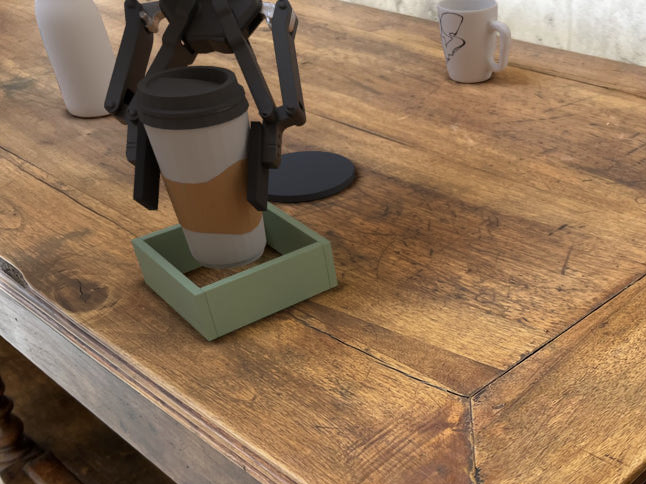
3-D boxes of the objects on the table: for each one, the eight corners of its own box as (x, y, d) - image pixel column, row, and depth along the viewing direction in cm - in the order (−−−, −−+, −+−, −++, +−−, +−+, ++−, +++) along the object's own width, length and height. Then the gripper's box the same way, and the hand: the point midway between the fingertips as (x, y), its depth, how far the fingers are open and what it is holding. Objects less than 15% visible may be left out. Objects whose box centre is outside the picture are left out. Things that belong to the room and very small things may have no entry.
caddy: (145, 283, 73) (130, 239, 70) (268, 237, 80) (258, 195, 77) (209, 341, 66) (194, 295, 63) (338, 285, 72) (330, 241, 70)
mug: (526, 77, 117) (527, 4, 110) (492, 94, 111) (490, 17, 105) (465, 63, 122) (462, -8, 116) (429, 78, 117) (424, 5, 110)
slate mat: (227, 178, 91) (226, 171, 90) (318, 148, 97) (317, 142, 96) (282, 213, 84) (280, 206, 83) (375, 179, 90) (375, 172, 89)
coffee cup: (231, 222, 75) (191, 57, 66) (298, 244, 72) (266, 74, 62) (160, 260, 69) (105, 87, 60) (229, 286, 66) (182, 107, 57)
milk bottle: (141, 104, 109) (91, -60, 97) (91, 122, 104) (32, -48, 92) (106, 95, 113) (53, -65, 100) (56, 111, 108) (-6, -55, 95)
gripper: (352, -30, 70) (342, 221, 68) (114, -31, 70) (96, 218, 68) (331, -89, 63) (319, 190, 60) (65, -90, 63) (43, 187, 61)
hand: (201, 205), depth 64 cm, fingers closed on coffee cup, 8 cm apart
